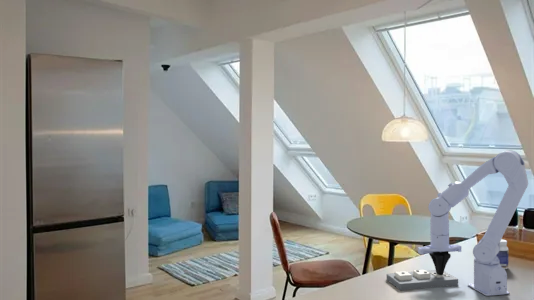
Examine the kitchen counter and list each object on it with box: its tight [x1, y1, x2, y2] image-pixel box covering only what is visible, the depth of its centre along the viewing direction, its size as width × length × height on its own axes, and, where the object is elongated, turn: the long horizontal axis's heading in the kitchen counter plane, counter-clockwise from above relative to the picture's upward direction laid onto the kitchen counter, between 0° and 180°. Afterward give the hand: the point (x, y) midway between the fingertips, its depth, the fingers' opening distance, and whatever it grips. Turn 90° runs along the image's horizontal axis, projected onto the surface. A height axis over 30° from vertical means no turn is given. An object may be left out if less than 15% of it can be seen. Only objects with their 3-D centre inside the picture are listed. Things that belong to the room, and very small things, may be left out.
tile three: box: [431, 273, 449, 278], centre depth 148 cm, size 4×4×2 cm
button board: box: [386, 269, 459, 291], centre depth 147 cm, size 10×20×2 cm, turn 99°
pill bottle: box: [496, 238, 510, 270], centre depth 160 cm, size 6×6×10 cm
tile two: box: [412, 269, 430, 279], centre depth 147 cm, size 4×4×2 cm
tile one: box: [394, 270, 412, 281], centre depth 146 cm, size 4×4×2 cm
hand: (439, 273), depth 148 cm, fingers closed, pressing on tile three
